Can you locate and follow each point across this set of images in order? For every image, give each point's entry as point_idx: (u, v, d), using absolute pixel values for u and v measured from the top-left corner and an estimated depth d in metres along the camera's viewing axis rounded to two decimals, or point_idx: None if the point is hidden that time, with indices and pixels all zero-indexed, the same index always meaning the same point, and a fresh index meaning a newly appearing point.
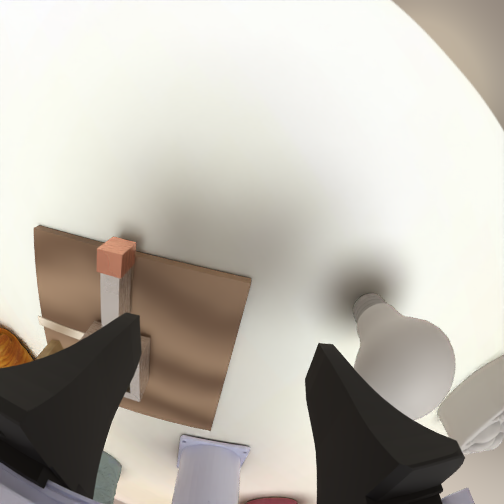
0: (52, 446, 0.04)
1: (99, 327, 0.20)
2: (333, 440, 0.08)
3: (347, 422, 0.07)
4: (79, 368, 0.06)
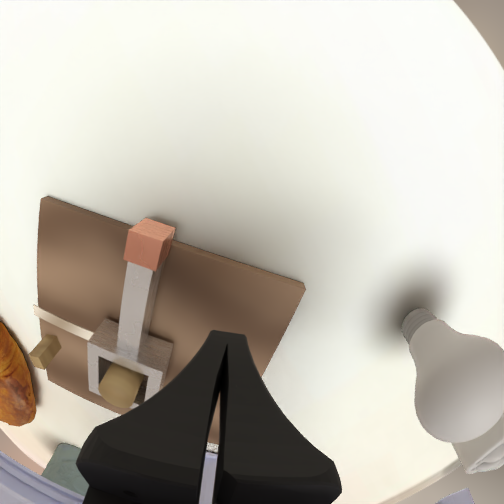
0: (198, 492, 0.04)
1: (111, 326, 0.17)
2: (221, 434, 0.07)
3: (225, 415, 0.07)
4: (203, 399, 0.07)
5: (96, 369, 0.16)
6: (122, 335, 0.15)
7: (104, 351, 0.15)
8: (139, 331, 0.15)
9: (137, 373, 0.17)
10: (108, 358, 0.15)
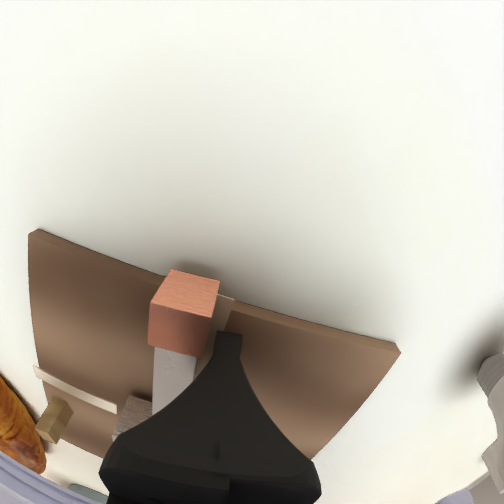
0: None
1: (139, 407, 0.12)
2: None
3: None
4: (224, 403, 0.07)
5: None
6: None
7: None
8: None
9: None
10: None
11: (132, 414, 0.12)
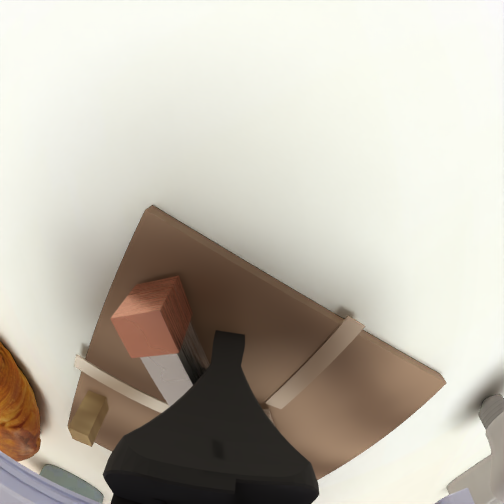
0: None
1: None
2: None
3: None
4: (227, 403, 0.07)
5: None
6: None
7: None
8: None
9: None
10: None
11: None
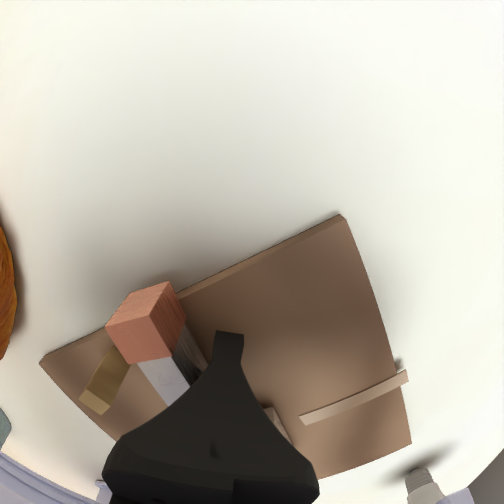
0: None
1: None
2: None
3: None
4: (226, 403, 0.07)
5: None
6: None
7: None
8: None
9: None
10: None
11: None
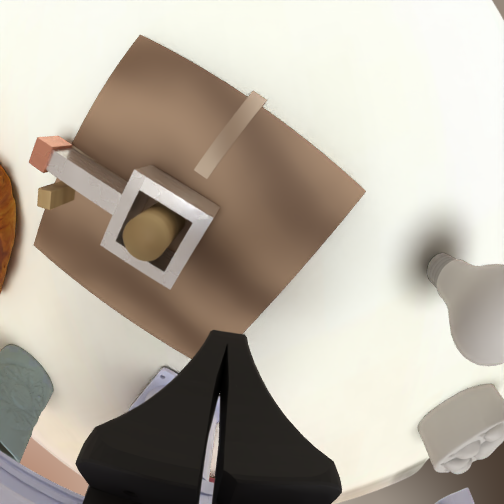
0: (198, 492, 0.04)
1: None
2: (221, 434, 0.07)
3: (225, 415, 0.07)
4: (203, 399, 0.07)
5: None
6: (102, 202, 0.15)
7: (109, 229, 0.15)
8: (98, 181, 0.15)
9: (175, 225, 0.16)
10: (117, 229, 0.15)
11: None
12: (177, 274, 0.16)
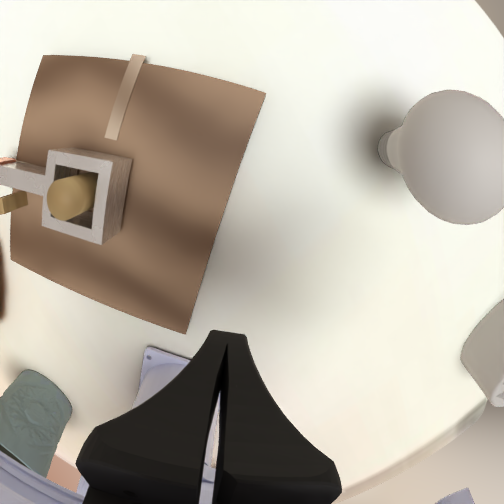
0: (198, 492, 0.04)
1: None
2: (221, 434, 0.07)
3: (225, 415, 0.07)
4: (203, 399, 0.07)
5: (66, 223, 0.15)
6: (37, 190, 0.15)
7: (44, 208, 0.15)
8: (30, 173, 0.15)
9: (90, 184, 0.15)
10: None
11: None
12: (101, 227, 0.16)
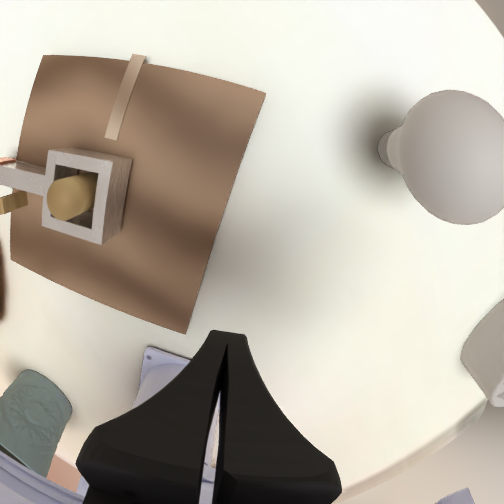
0: (198, 492, 0.04)
1: None
2: (221, 434, 0.07)
3: (225, 415, 0.07)
4: (203, 399, 0.07)
5: (66, 223, 0.15)
6: (37, 190, 0.15)
7: (44, 208, 0.15)
8: (30, 173, 0.15)
9: (90, 184, 0.15)
10: None
11: None
12: (101, 227, 0.16)
